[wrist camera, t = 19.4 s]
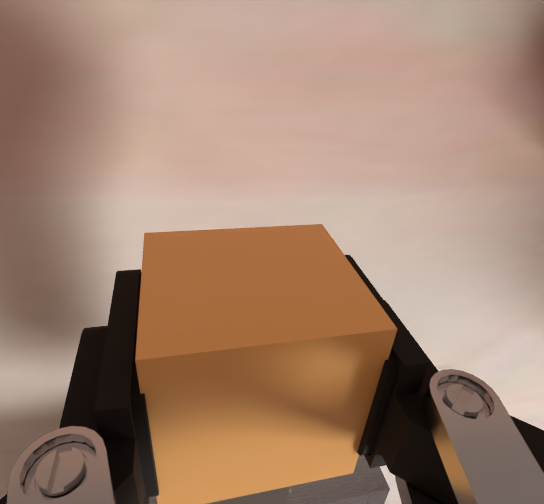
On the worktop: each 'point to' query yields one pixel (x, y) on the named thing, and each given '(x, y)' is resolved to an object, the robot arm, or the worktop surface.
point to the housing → (340, 488)
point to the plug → (255, 361)
